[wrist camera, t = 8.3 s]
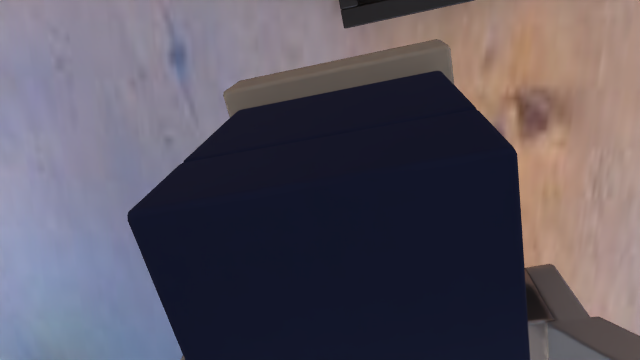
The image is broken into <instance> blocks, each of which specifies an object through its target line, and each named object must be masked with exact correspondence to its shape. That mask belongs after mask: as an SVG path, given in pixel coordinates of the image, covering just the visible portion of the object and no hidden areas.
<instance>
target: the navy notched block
mask: <svg viewBox="0 0 640 360" xmlns="http://www.w3.org/2000/svg"><path fill="white" fill-rule="evenodd" d="M223 96H224V99H225V103H226V106H227V109H228V113H229V116H230V119H229V120H227V121H226V122H225V123H224V124H223V125H222V126H221V127H220V128H219V129H218V130H217V131H216V132H214V133H213V134H212V135H211V136H210V137H209V138H208V139H207V140H206V141H205V142H204V143H203V144H202V145H200V146H199V147H198V148H197V149H196V150H195V151H194V152H193V153H192V154H191V155H190V156H189V157H187V158H186V159H185V160H184V163H182V164H180V165H179V166H178V167H177V168H176V169H174V170H173V171H172V172H171V173H170V174H169V175H168V176H167V177H166V178H165V179H164V180H163V181H161V182H160V183H159V184H158V185H157V186H156V187H155V188H154V189H153V190H152V191H151V192H150V193H148V194H147V195H146V196H145V197H144V198H143V199H142V200H141V201H140V202H139V203H138V204H137V205H136V206H134V207H133V208H132V209H131V210H130V211H129V212H128V222H129V225H130V227H131V229H132V232H133V234H134V237H135V239H136V242H137V244H138V246H139V249H140V251H141V254H142V256H143V259H144V261H145V263H146V266H147V268H148V271H149V273H150V276H151V278H152V280H153V283H154V285H155V288H156V290H157V293H158V295H159V297H160V300H161V302H162V305H163V307H164V310H165V312H166V314H167V317H168V319H169V322H170V324H171V327H172V329H173V331H174V334H175V336H176V339H177V341H178V344H179V346H180V348H181V351H182V353H183V356H184V358H185V360H530V347H529V332H528V316H527V301H526V285H525V270H524V254H523V239H522V223H521V208H520V192H519V177H518V162H517V153H516V151H515V149H514V148H513V146H512V145H511V144H510V143H509V142H508V141H507V140H506V139H505V138H504V137H503V136H502V135H501V134H500V133H499V132H498V131H497V130H496V129H495V127H494V126H493V125H492V124H491V123H490V122H489V121H488V120H487V119H486V118H485V117H484V116H483V115H482V114H481V113H480V112H479V111H477V109H476V108H475V106H474V105H473V104H472V103H471V102H470V101H469V100H468V99H467V98H466V97H465V96H464V95H463V94H462V93H461V92H460V91H459V90H458V89H457V87H456V86H455V85H454V79H453V70H452V61H451V51H450V48H449V46H448V45H447V44H445V43H444V42H442V41H441V40H437V39H436V40H431V41H426V42H421V43H417V44H412V45H407V46H402V47H398V48H393V49H388V50H383V51H379V52H374V53H369V54H364V55H360V56H355V57H350V58H346V59H341V60H336V61H331V62H327V63H322V64H317V65H312V66H308V67H303V68H298V69H293V70H289V71H284V72H279V73H274V74H270V75H265V76H260V77H255V78H251V79H246V80H241V81H239V82H237V83H236V84H234V85H233V86H232V87H230V88H229V89H227V90H226V91H225V92H224V95H223Z"/></svg>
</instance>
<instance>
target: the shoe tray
mask: <svg viewBox="0 0 640 360" xmlns="http://www.w3.org/2000/svg"><path fill="white" fill-rule="evenodd" d="M470 1H474V0H339V3H340V8H341V9H342V10H341V14H342V19H343V25H344V28H350V27H355V26H359V25H364V24H368V23H373V22H378V21H382V20H387V19H391V18H396V17H401V16H405V15H410V14H414V13H419V12H424V11H428V10H433V9H437V8H442V7H447V6H451V5H456V4H460V3H465V2H470Z"/></svg>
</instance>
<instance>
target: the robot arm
mask: <svg viewBox="0 0 640 360" xmlns="http://www.w3.org/2000/svg"><path fill="white" fill-rule="evenodd" d="M524 270H525V285H526V301H527V316H528V332H529V347H530V360H640V336H638V335H636V334H634V333H632V332H630V331H628V330H626V329H624V328H622V327H620V326H618V325H615V324H613V323H611V322H609V321H607V320H605V319H603V318H601V317H590V316H589V315H588V313H587V312H586V310H585V309H584V308H583V306H582V305H581V303H580V302H579V300H578V299H577V298H576V296H575V295H574V293H573V292H572V290H571V289H570V288H569V286H568V285H567V283H566V282H565V280H564V279H563V277H562V276H561V275H560V273H559V272H558V270H557V269H556V267H555V266H554V265H552V264H546V265H539V266H533V267H527V268H524ZM181 360H185V358H184V356H182V358H181Z"/></svg>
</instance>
